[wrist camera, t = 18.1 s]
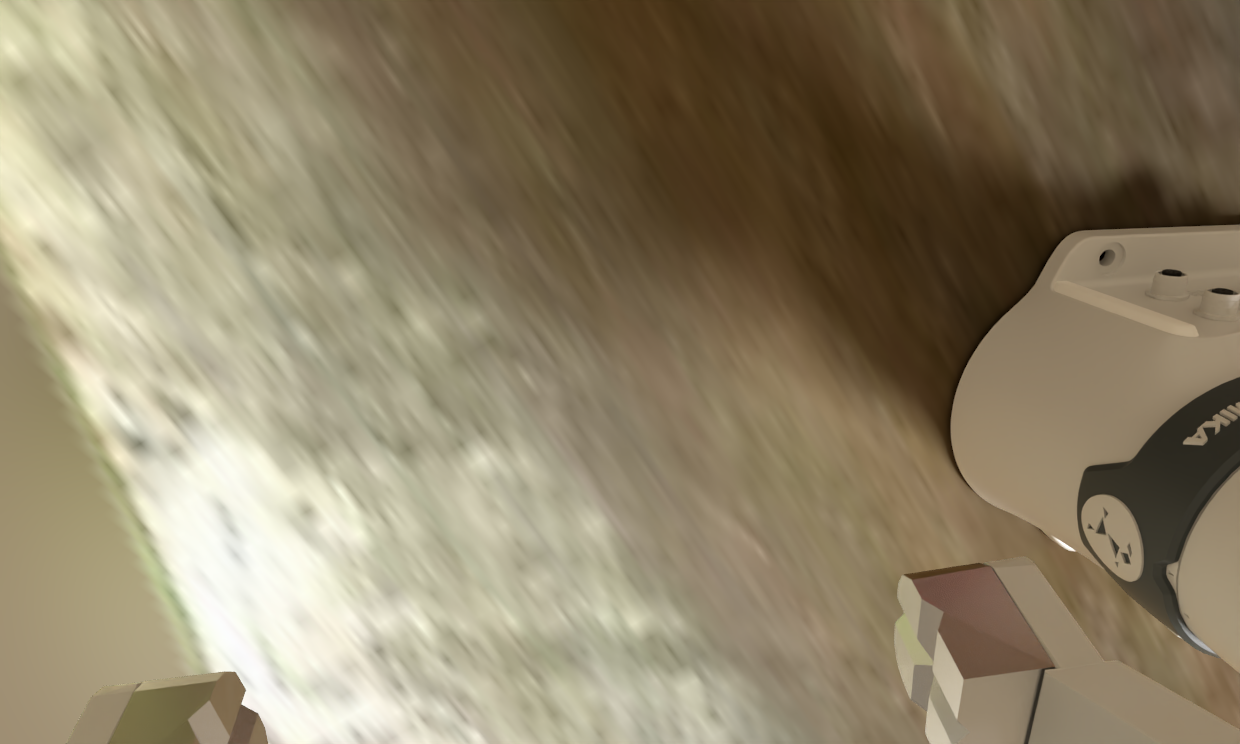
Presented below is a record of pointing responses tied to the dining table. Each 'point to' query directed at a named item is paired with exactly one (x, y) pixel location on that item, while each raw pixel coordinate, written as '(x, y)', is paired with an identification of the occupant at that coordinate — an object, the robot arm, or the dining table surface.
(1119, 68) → the dining table surface
